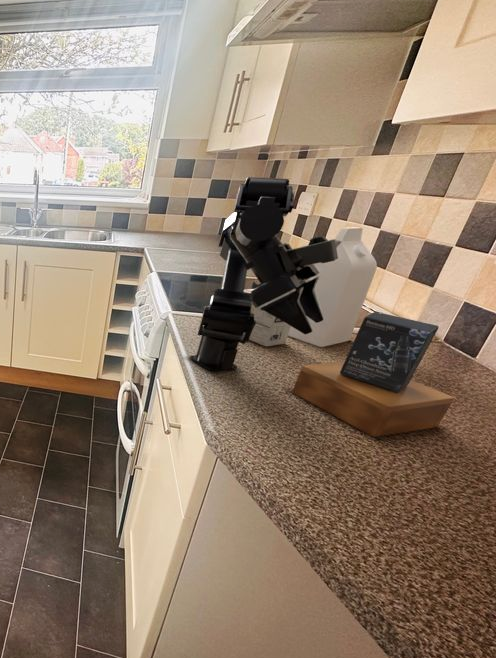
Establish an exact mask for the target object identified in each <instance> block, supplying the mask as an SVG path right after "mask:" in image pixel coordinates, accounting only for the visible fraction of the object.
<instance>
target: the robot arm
mask: <svg viewBox="0 0 496 658" xmlns="http://www.w3.org/2000/svg"><path fill="white" fill-rule="evenodd" d="M289 183H290V179H289V178H279V177H278V178H277V177H276V178H275V177H256V176H255V177H253V176H248V177H246V179H245V182H244V183H240V184H239V187H238V191H237V194H236V197H235V202H234V206H233V213H232V214H231V215H230V216H228V217H227V218H226V219H225V221H224V223H223V227H222V231H221V234H220V238H219V242H218V248H220V252H219V256H220V257H221V258H222V259H223V260H224V261H225V265H224V270H223V274H222V279H221V284H220V288H217V289H215V290H214V292H213V295H212V296H211V298H210V301H209V304H208V305H205V306H204V309H203V311H202V315H201V318H200V320H199V321H200V322H199V326H198V330H197V336H201V337H200V341H199V344H198V349H197V351H196V354H195V355H189V359H190V360H192V361H193V362H195V363H196V364H198V365H200V366H201V367H203V368H204V369H206V370H208V371H210V372H220V371H230V370H237V369H238V366H237V365H235V360H236V357H237V354H238V346H239V344H241V345H242V344H243V345H245V344H246V343H248V342H249V341H250V340H249V338H250V335H251V333H252V331H253V329H254V327H255V324H256V321H255V320H254V314H253V313H251V308H252V303H253V305H254V306H255V308H257V307H259V306H261V305H263V304H265V303H267V302H268V303H269V304H267V305H265V306H263V307H261V308H260V309H261V310H262V311H263V310H264V311H266V312H267V313H269V314H271V315H273V316H275V317H276V318H278V319H280V320H282V321H283V322H285V323H287V324H288V325H290V326H292V327H293V328H295V329H297V330H298V331H300V332H302V333H303V334H308V333H311V332H312V328H311V326H310V323H309V321H308V319H307V317H309V318H310V319H312V320H313V321H314V322H316V323H318V322H321V321H323V316H322V313H321V310H320V307H319V304H318V301H317V298H316V294H315V291H314V288H315V286H316V284H317V281H318V280H319V276H318V277H316V278H314V279H312V280H309V278H311V277H314V276H316V275H317V274H319V272H318V270H317V269H316V267H315V266H314V265H313V264H316V263H327V262H331V261H335V259H338V255H337V249H336V248H337V245H336V243H335V238H333V239H327V238H326V237H325V235H320V236H316V237H313V238H310V240H309V242H308V244H307V245H303V246H300V247H295V248H292V246H291V245H290V244H289V243H286V242H285V243H283V242H282V241H281V240H280V238H279V236H277V235H278V234H279V233H280V231H282V229H283V226H284V223H285V219H284V218H285V217H287V216H288V215H289V213H290V214H291V213H292V212H293V209H294V206H295V193H294V191H293V189H294V188H293V185H289ZM248 270H251V271H252V273H253V274H254V276H255V277H256V279H257V280H258V282H259V284H257V287H256V288H253V289H254V290H252V291H251V293H245V292H244V290H245V286H246V280H247V273H248Z"/></svg>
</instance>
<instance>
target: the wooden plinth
mask: <svg viewBox="0 0 496 658" xmlns="http://www.w3.org/2000/svg"><path fill="white" fill-rule="evenodd" d="M344 362H345V360H344V361H333V362H324V363H315V364H314V363H313V364H305V365H302V366H301V368H300V370H299V373H298V376H297V379H296V381H295V383H294V386H293V389H292V391H291V393H293V394H294V395H296V396H297V397H299V398H302V399H303V400H305V401H307V402H308V403H311V404H312V405H314V406H316V407H318V408H320V409H321V410H323V411H325V412H327V413H329V414H331V415H333V416H334V417H336V418H338V419H340V420H341V421H343V422H345V423H347V424H349V425H350V426H353V427H354V428H356V429H358V430H360V431H362V432H364V433H365V434H367V435H369V436H371V437H373V438H377V437H384V436H389V435H395V434H403V433H409V432H415V431H421V430H428V429H433V428H434V429H435V428H438V427H439V426H440V424H441V422H442V421H443V419H444V417H445V416H446V414H447V412H448V410H449V408H450V407H451V406H452V403H453V402H454V401H455V397H454V396H453V395H450V394H447V393H444V392H442V391H439V390H437V389H435V388H432V387H429V386H427V385H425V384H422V383H419V382H417V381H415V380H412V379H411V380H410V382H409V384H408V385H407V386H406V387H404V388H403V389H402V390H401V391H400V392H399V393H395V392H392V391H390V390H388V389H385V388H382V387H379V386H376V385H373V384H370V383H367V382H364V381H361V380H358V379H355V378H352V377H349V376H345V375H342V374H340V371H341V369H342V366H343V364H344Z"/></svg>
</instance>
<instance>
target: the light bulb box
mask: <svg viewBox="0 0 496 658" xmlns="http://www.w3.org/2000/svg"><path fill="white" fill-rule="evenodd" d="M254 289H255V288H250V289H249V288H247V289H244V292H245V293H251V291H252V290H254ZM267 304H269V303H268V302H267V303H265V304H263V305H261V306H259V307H257V308H255V306H254V305H253V303H252V308H251V313H253V314H254V320H255V321H256V324H255V327H254V329H253V331H252V333H251V335H250V338H249V341H251V342H254V343H256V344H259V345H261V346H263V347H272V346H278V345H285V344H286V342H287V338H288V337H289V336H288V333H289V330H290V327H291V326H290V325H288V324H287V323H285V322H283V321H282V320H280V319H278V318H276V317H275V316H273V315H271V314H269V313H267V312H266V311H264V310H263V311H262V310H261V309H260V308H261V307H263V306H265V305H267Z"/></svg>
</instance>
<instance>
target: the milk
mask: <svg viewBox="0 0 496 658" xmlns="http://www.w3.org/2000/svg"><path fill="white" fill-rule="evenodd" d="M363 229H364V227H358V226H349V227H348V226H347V227H340V229H339V231H338V233H337V235H336V237H335V238H334V239H335V243H336V245H337V248H336V249H337V255H338V259H335V261H331V262H327V263H316V264H313V265H314V266H315V267H316V269H317V270H318V272H319V274H317V275H316V276H314V277H311V278H309V280H312V279H314V278H316V277H318V276H319V280H318V281H317V284H316V286H315V288H314V291H315V294H316V298H317V301H318V304H319V307H320V310H321V313H322V316H323V321H321V322H318V323H316V322H314V321H313V320H312V319H310V318H309V317H307V319H308V321H309V323H310V326H311V328H312V332H311V333H308V334H303V333H302V332H300V331H298V330H297V329H295V328H293V327H292V326H291V327H290V330H289V333H288V336H287V337H289V338H290V337H291V338H294V339H296V340H299V341H302V342H305V343H307V344H311V345H314V346H316V347H319V348H324V347H328V346H332V345H337V344H341V343H345V342H349V341H350V340H351V337H352V334H353V332H354V329H355V327H356V325H357V322H358V319H359V316H360V314H361V311H362V309H363V306H364V303H365V300H366V298H367V295H368V293H369V291H370V287H371V285H372V282H373V279H374V277H375V274H376V271H377V268H378V263H377V260H376V258H375V257H374V255H373V254H372V253H371V251H370V250H369V249H368V247H367V246H366V244H365V243H364V242H363V241H362V237H363Z"/></svg>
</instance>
